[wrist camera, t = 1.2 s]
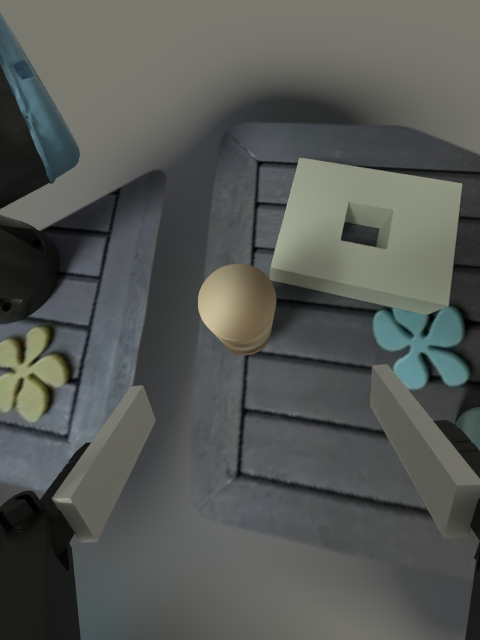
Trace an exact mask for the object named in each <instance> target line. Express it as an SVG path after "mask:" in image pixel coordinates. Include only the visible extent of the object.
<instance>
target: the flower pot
mask: <svg viewBox="0 0 480 640" xmlns="http://www.w3.org/2000/svg"><path fill="white" fill-rule="evenodd" d="M455 426H457V427H458V428H460V429H461V430H462V431H463V432H464V433H465V434H466V435H467V436H468V438H469V439H470V440H471V442H472V443H474V444H475V445H476V446H477V448H478V449H479V451H480V407H476V408H471V409H468V410H466V411H465V412H463V413H462V414H461V415H460V416H459V418H458V420H457V421H456V425H455Z"/></svg>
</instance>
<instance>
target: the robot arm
mask: <svg viewBox="0 0 480 640" xmlns="http://www.w3.org/2000/svg"><path fill="white" fill-rule="evenodd" d="M79 156H80V153H79V148H78V145H77V143H76V141H75V139H74V137H73V135H72V134H71V132H70V130H69V129H68V126H67V125H66V123H65V121H64V119H63V118H62V116H61V114H60V113H59V111H58V109H57V107H56V106H55V104H54V102H53V100H52V99H51V97H50V95H49V93H48V92H47V90H46V88H45V86H44V85H43V83H42V81H41V80H40V78H39V76H38V75H37V73H36V71H35V70H34V68H33V66H32V64H31V63H30V61H29V59H28V57H27V56H26V54H25V52H24V51H23V49H22V47H21V46H20V44H19V42H18V41H17V39H16V37H15V36H14V34H13V32H12V31H11V29H10V27H9V26H8V24H7V22H6V21H5V19H4V18H3V16H2V15H1V13H0V209H1V208H3V207H5V206H7V205H9V204H10V203H12V202H14V201H16V200H18V199H20V198H22V197H24V196H25V195H27V194H29V193H31V192H33V191H35V190H37V189H39V188H41V187H42V186H44V185H46V184H48V183H50V184H52V183H54V181H55V179H56V178H57V177H59V176H60V175H62V174H64V173H65V172H67V171H69V170H70V169H72V168H73V167H75V166H76V164H77V163H78V161H79ZM58 272H59V257H58V253H57V250H56V248H55V246H54V244H53V243H52V241H51V240H50V239H49V238H48V237H47V236H46V235H44V234H43V233H41V232H40V231H39V230H37V229H36V228H34V227H32V226H31V225H29V224H27V223H24V222H22V221H18V220H15V219H12V218H9V217H5V216H2V215H0V324H7V323H12V322H15V321H18V320H20V319H22V318H24V317H26V316H28V315H29V314H31V313H32V312H34V311H35V310H36V309H37V308H39V307H40V306H41V305H42V304H43V303H44V301H45V300H46V299H47V298H48V296H49V295H50V293H51V291H52V290H53V288H54V286H55V283H56V280H57V277H58ZM370 406H371V408H372V410H373V412H374V413H375V415H376V417H377V419H378V421H379V422H380V424H381V426H382V428H383V430H384V431H385V433H386V435H387V437H388V439H389V440H390V442H391V444H392V446H393V448H394V449H395V451H396V453H397V455H398V457H399V458H400V460H401V462H402V464H403V466H404V467H405V469H406V471H407V473H408V475H409V476H410V478H411V480H412V482H413V484H414V485H415V487H416V489H417V491H418V493H419V494H420V496H421V498H422V500H423V502H424V504H425V505H426V507H427V509H428V511H429V513H430V514H431V516H432V518H433V520H434V522H435V523H436V525H437V527H438V529H439V531H440V532H441V534H442V536H443V538H468V536H469V533H470V529H471V528H472V530H473V531H474V533H475V534H476V536H477V537H478V539H479V540H480V451H479V449H478V448H477V446H476V445H475V444H474V443H472V442H471V440H470V439H469V438H468V436H467V435H466V434H465V433H464V432H463V431H462V430H461V429H460V428H458V427H457V426H455V425H454V424H452V423H451V422H449V421H448V420H442V421H433V420H432V419H431V418H430V417H429V415H428V414H427V413H426V412H425V410H424V409H423V408H422V407H421V405H420V404H419V403H418V402H417V400H416V399H415V398H414V397H413V395H412V394H411V393H410V392H409V391H408V389H407V388H406V387H405V386H404V384H403V383H402V382H401V381H400V379H399V378H398V377H397V376H396V374H395V373H394V372H393V371H392V369H391V368H390V367H389V366H388V364H383V365H372V380H371V400H370ZM154 423H155V417H154V414H153V412H152V409H151V406H150V403H149V401H148V398H147V395H146V392H145V389H144V387H143V386H131V387H130V389H129V390H128V392H127V393H126V394H125V396H124V397H123V399H122V400H121V401H120V403H119V404H118V406H117V407H116V409H115V410H114V411H113V413H112V414H111V416H110V417H109V418H108V420H107V421H106V423H105V424H104V425H103V427H102V428H101V430H100V431H99V432H98V434H97V435H96V437H95V438H94V440H93V441H92V442H91V443H85V444H84V445H83V446H82V447H81V448H80V449H78V450H77V451H76V452H75V454H74V455H73V456H72V458H71V459H70V460H69V462H68V464H66V466H65V467H64V468H63V470H62V472H60V474H59V475H58V476H57V478H56V479H55V480H54V482H53V483H52V484H51V486H50V487H49V488H48V490H47V491H46V493H45V494H44V495H43V497H42V498H41V499H40V500H39V498H38V497H37V496H36V494H35V493H34V492H33V491H24V492H21V493H19V494H17V495H15V496H13V497H12V498H11V499H9V500H7V502H5V503H4V504H3V505H2V506H1V507H0V640H81V638H80V628H79V618H78V607H77V597H76V587H75V576H74V566H73V556H72V548H71V546H70V543H69V542H70V540H71V539H72V537H73V535H74V534H75V535H76V537H77V538H78V540H79V541H80V542H97V541H98V539H99V537H100V535H101V533H102V530H103V529H104V527H105V525H106V522H107V520H108V518H109V516H110V514H111V512H112V510H113V508H114V506H115V504H116V502H117V500H118V498H119V495H120V493H121V491H122V489H123V487H124V485H125V483H126V481H127V479H128V477H129V475H130V473H131V471H132V468H133V466H134V464H135V462H136V460H137V458H138V456H139V454H140V452H141V450H142V448H143V446H144V444H145V442H146V440H147V438H148V435H149V433H150V431H151V429H152V427H153V425H154ZM474 559H476V566H475V573H474V580H473V588H472V595H471V602H470V609H469V616H468V624H467V631H466V638H465V640H480V542H479V545H478V548H477V551H476V554H475V557H474Z"/></svg>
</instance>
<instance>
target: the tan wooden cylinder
mask: <svg viewBox="0 0 480 640" xmlns="http://www.w3.org/2000/svg"><path fill="white" fill-rule="evenodd" d="M198 308H199V313H200V316H201V318H202V320H203V322H204V323H205V325H206V326H207V327H208V328H209V329H210V330H211V331H212V332H213V333H214V334H215V335H216V336H217V337H218V338H219V339H220V340H221V341H222V342H223V344H224V345H225V346H226V347H227V348H228V349H229V350H230V351H232V352H234V353H236V354H239V355H251V354H254V353H257V352H259V351H260V350H262V349H263V348H264V347H265V346H266V345H267V343H268V342H269V339H270V337H271V332H272V323H273V318H274V313H275V308H276V293H275V289H274V287H273V284H272V283H271V281H270V280H269V278H268V277H267V276H266V275H265V274H264V273H263V272H262V271H260V270H259V269H257V268H255V267H252V266H249V265H245V264H231V265H227V266H224V267H221V268H219V269H217V270H216V271H214V272H213V273H212V274H211V275H210V276H209V277H208V278H207V279H206V280H205V282H204V283H203V285H202V287H201V290H200V292H199V297H198Z"/></svg>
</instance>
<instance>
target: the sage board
mask: <svg viewBox="0 0 480 640" xmlns="http://www.w3.org/2000/svg"><path fill="white" fill-rule="evenodd" d="M461 191H462V183H456V182H450V181H443V180H437V179H431V178H425V177H418V176H412V175H406V174H399V173H393V172H387V171H381V170H374V169H368V168H362V167H355V166H349V165H343V164H337V163H330V162H324V161H318V160H311V159H305V158H299V162H298V165H297V169H296V173H295V177H294V181H293V184H292V188H291V192H290V196H289V200H288V203H287V207H286V211H285V215H284V218H283V222H282V226H281V230H280V234H279V237H278V241H277V245H276V249H275V253H274V256H273V260H272V264H271V268H270V280H272V281H277V282H281V283H286V284H290V285H295V286H299V287H304V288H308V289H313V290H317V291H322V292H326V293H330V294H335V295H339V296H344V297H348V298H353V299H357V300H362V301H366V302H371V303H375V304H379V305H384V306H388V307H393V308H397V309H402V310H406V311H411V312H415V313H420V314H424V315H428V314H430V313H433V312H435V311H438V310H440V309H443V308H445V307H448V306H449V298H450V289H451V280H452V271H453V262H454V253H455V244H456V235H457V227H458V218H459V209H460V200H461ZM344 222H347V223H353V224H358V225H363V226H369V227H374V228H379V233H378V239H377V244H376V247H371V246H366V245H361V244H356V243H351V242H346V241H341V236H342V231H343V226H344Z"/></svg>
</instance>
